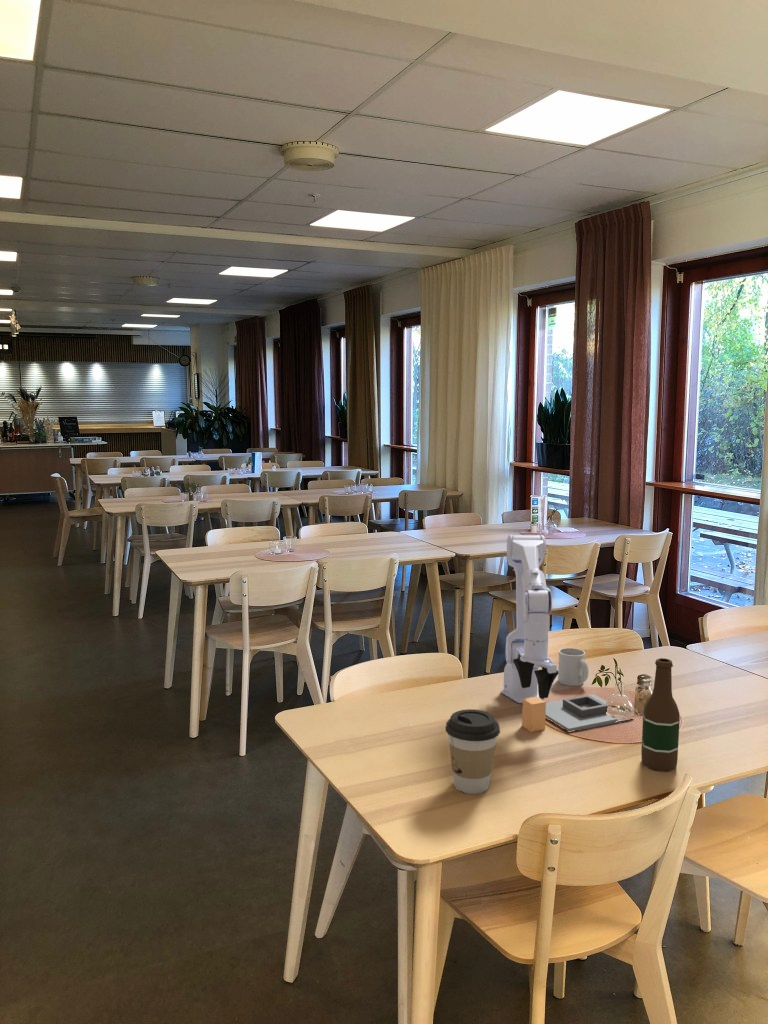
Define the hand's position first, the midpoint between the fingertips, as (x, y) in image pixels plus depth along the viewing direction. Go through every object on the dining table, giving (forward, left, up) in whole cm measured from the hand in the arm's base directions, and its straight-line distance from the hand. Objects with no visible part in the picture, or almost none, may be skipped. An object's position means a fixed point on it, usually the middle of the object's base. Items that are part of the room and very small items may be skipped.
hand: (534, 692), depth 198 cm
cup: (-21, +28, -9) cm, 36 cm away
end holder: (-2, +16, -9) cm, 18 cm away
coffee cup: (+20, -29, -9) cm, 36 cm away
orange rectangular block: (0, 0, -9) cm, 9 cm away
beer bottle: (+28, +14, -9) cm, 33 cm away
